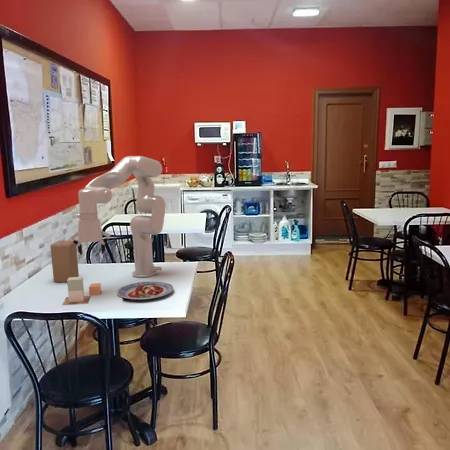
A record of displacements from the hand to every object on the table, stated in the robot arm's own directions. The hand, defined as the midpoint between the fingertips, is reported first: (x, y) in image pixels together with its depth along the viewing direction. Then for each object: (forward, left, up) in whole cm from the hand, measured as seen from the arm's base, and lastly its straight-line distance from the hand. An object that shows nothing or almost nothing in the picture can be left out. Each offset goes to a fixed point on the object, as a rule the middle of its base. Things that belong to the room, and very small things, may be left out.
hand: (92, 253), depth 219 cm
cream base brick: (+7, +9, -19) cm, 22 cm away
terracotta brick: (0, 0, -20) cm, 20 cm away
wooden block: (+18, -30, -20) cm, 40 cm away
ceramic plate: (-23, +3, -20) cm, 31 cm away
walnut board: (+7, +9, -20) cm, 23 cm away
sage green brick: (+7, +9, -14) cm, 18 cm away
